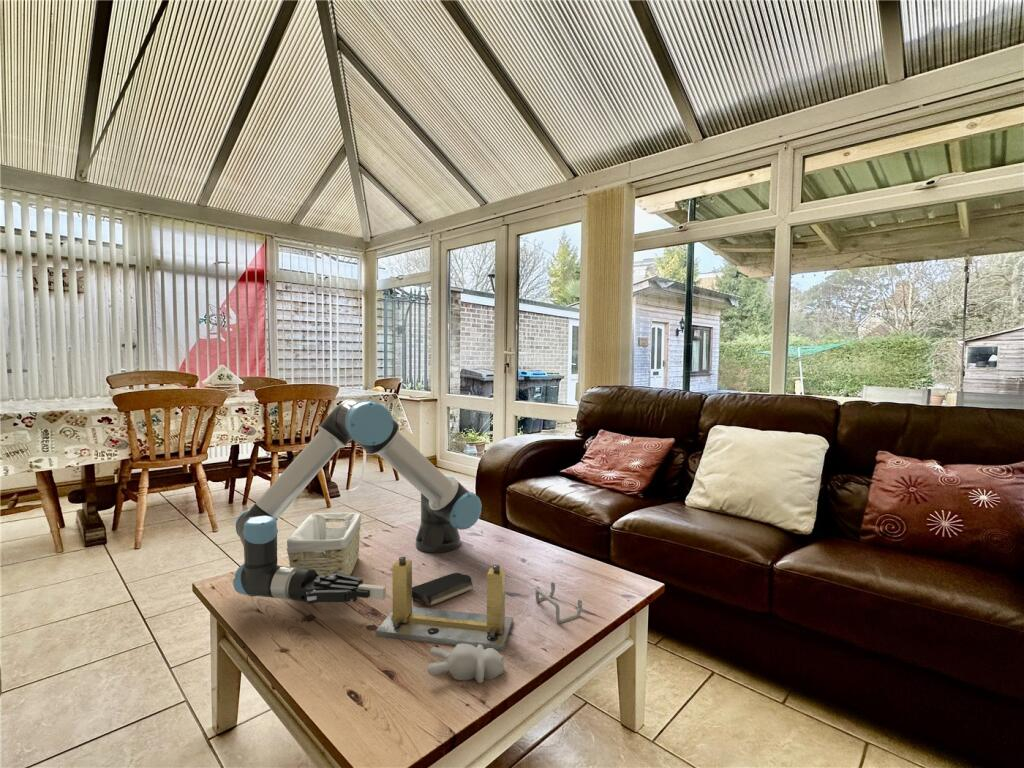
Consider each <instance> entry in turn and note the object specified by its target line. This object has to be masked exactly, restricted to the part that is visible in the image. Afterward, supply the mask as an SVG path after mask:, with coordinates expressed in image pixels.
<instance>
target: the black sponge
mask: <svg viewBox="0 0 1024 768" xmlns="http://www.w3.org/2000/svg"><path fill="white" fill-rule="evenodd" d="M472 579H473V578H472V577H471V576H470V575H468V574H464V573H460V572H452V573H449V574H446V575H443V576H441V577H438V578H435V579H432V580H430V581H427V582H424V583H421V584H418V585H415V586H412V600H416V601H418V602H420V603H421V604H423V605H426V606H433V605H436V604H439V603H441V602H443V601H446V600H448V599H451V598H454V597H455V596H458V595H460V594H464V593H466V592H468V591H470V590H472V588H473V586H474V585H473V580H472Z"/></svg>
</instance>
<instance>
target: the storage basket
mask: <svg viewBox="0 0 1024 768" xmlns="http://www.w3.org/2000/svg"><path fill="white" fill-rule="evenodd" d="M361 515H362V514H361V513H360V512H358V511H356V512H323V513H311V514H309V515H308V517H306V519H305V520H304V521H303V522H302V523H301V524H300V525H299V526H298V527H297V529H296V530H295V531H294V532H293V533H292V534H291V535H290V537H289V538H288V539H287V541H286V551H287V552H286V553H287V556H288V561H289V562H288V563H289V567H297V568H306V569H313V570H315V571H316V573H317V574H318V575H319V576H321V575H327V576H332V575H333V572H335V571H338V572H340V573H341V574H345V575H349V576H351V575H352V573H353V571H354V569H355V566H356V563H358V562H357V561H358V559H359V557H360V553H359V552H360V539H361V536H360V535H361V534H360V531H361V522H362V516H361ZM327 522H328V523H330V522H336V523H337V522H338V523H340V522H345V525H344V526H345V527H330V528H329V527H327Z"/></svg>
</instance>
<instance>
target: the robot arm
mask: <svg viewBox="0 0 1024 768" xmlns="http://www.w3.org/2000/svg"><path fill="white" fill-rule="evenodd" d="M317 427H318V432H317V433H316V434H315V435H314V437H313V438H312V439H311V440H310V441H309V442H308V443H307V444H306V446H304V448H303V449H302V450H301V451H300V452H299V454H298V455H297V456H295V458H294V459H293V460H292V461H291V463H290V464H289V465H288V466H287V467H286V468H285V469H284V471H282V472H281V474H280V475H279V476H278V477H277V478H276V479H275V481H273V483H271V485H270V486H269V487H268V488H267V490H266V491H265V492H264V493H263V494H262V496H260V498H259V499H258V500H257V501H256V502H255V503H254V504H253V506H251V508H250V509H246V510H244V511H242V512H241V513H240V514H239V515H238V516H237V518H236V520H235V532H236V534H237V535H238V537H239V539H240V542H241V544H242V545H243V556H244V559H243V561H244V563H243V564H241V565H240V566H239V567H238V568H237V570H236V571H235V574H234V578H233V580H232V585H233V589H234V591H235V592H236V593H237V594H240V595H245V596H248V597H253V598H254V597H261V598H262V597H263V598H271V599H279V600H280V599H281V600H284V601H290V600H291V601H294V602H296V601H297V602H307V603H306V604H308V605H311V604H316V603H349V602H351V600H352V602H353V603H354V602H357V601H358V600H357V599H358V598H360V599H361V598H362V599H368V600H371V599H372V600H380V601H384V599H386V597H387V594H386V593H387V592H386V591H387V590H386V588H387V587H386V585H380V584H379V585H378V584H368V583H364V578H361V577H358V576H352V575H350V576H349V575H345V574H341V573H340V572H338V571H335V572H333V575H332V576H327V575H321V576H319V575H318V574H317V573H316V571H315V570H313V569H306V568H297V567H290V566H284V565H283V566H282V565H279V564H278V533H279V530H278V523H277V521H278V520H279V519H280V518H281V516H282V515H283V514H284V513H285V512H286V511H287V509H288V508H289V507H290V506H291V504H293V503H294V501H295V500H296V499H297V498H298V497H299V495H300V494H301V493H302V492H303V491H304V490H305V488H306V487H307V486H308V485H309V484H310V483H311V482H312V480H313V479H315V477H316V476H317V474H318V473H319V472H320V471H321V470H322V469H323V467H324V466H325V465H326V464H327V463H328V462H329V460H331V458H332V457H333V456H334V454H336V453H337V451H338V450H339V449H340V448H345V447H346V446H347V445H348V443H350V442H351V441H354V442H355V443H356V444H357V445H358V446H359V447H361V448H362V449H363V450H364V451H365V452H367V454H369V455H378V456H379V457H380V458H381V459H383V460H384V461H385V462H386V463H387V464H388V465H389V466H391V468H393V470H395V471H396V473H398V474H400V475H401V476H402V477H403V479H405V480H406V481H407V482H408V483H409V484H410V485H412V486H413V487H414V489H416V490H417V491H419V493H420V525H419V528H418V531H417V534H416V537H415V547H416V548H417V549H418V550H419V551H422V552H425V553H432V554H433V553H434V554H435V553H445V552H450V551H453V550H455V549H457V548H459V546H460V544H461V535H460V533H459V530H460V531H465V530H467V529H470V528H473V526H474V525H476V523H477V522H478V521H479V519H480V517H481V515H482V506H483V505H482V501H481V499H480V497H479V496H478V495H476V494H475V493H474V492H472V491H471V492H470V491H469V490H468V489H467V488H466V487H464V486H463V484H461V483H460V482H459V481H458V479H456V478H455V477H453V476H445V474H444V473H442V471H441V470H439V468H437V467H436V466H435V465H434V464H433V463H432V462H431V461H430V460H429V459H428V458H427V457H426V456H424V455H423V453H421V451H419V449H417V447H415V446H414V445H413V444H412V443H411V442H410V441H409V440H408V439H407V438H405V436H404V435H402V433H401V432H400V425H399V423H397V422H396V421H395V419H394V418H393V415H392V413H391V412H390V411H389V409H388V408H387V407H385V406H384V405H383V404H382V403H380V402H377V401H375V400H366V399H362V398H358V397H355V398H348V399H346V400H343V401H341V402H340V403H339V404H338V405H336V407H334V408H333V410H332V411H331V412H330V413H329V414H328V415H327V416H326V418H325V419H324V420H323V421H322V422H321V423H320V425H318V426H317Z"/></svg>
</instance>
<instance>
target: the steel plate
mask: <svg viewBox="0 0 1024 768" xmlns="http://www.w3.org/2000/svg"><path fill="white" fill-rule="evenodd" d="M392 614H393V610H391V612H390V613H389V614H388V615H387V617H386V618H385V619H384V620H383V621H382V623H381V624H380V625H379V626H378V628H377V629H376V630H375V637H381V638H391V639H399V640H407V641H414V642H415V641H416V642H425V643H433V644H442V645H447V646H448V645H450V646H456V645H457V644H470V645H473V646H474V647H477V646H478V644H481V645H483V648H484V650H485V649H487V648H493V649H494V650H496V651H500V652H501V651H502V652H504V650H505V647H506V644H507V641H508V638H509V636H510V633H511V629H512V625H513V623H514V617H511V616H505V625H504V627H503V629H502V633H501V634H500V633H496V635H495V637H494V638H490V632H487V630H480V629H471V628H462V627H453V626H444V625H435V624H426V623H417V622H408V621H407V622H406V623H402V622H401V623H400V625H399V626H398V627H393V623H394V622H393V621H392V620H391V615H392ZM412 614H413V615H422V616H431V617H441V618H450V619H459V620H468V621H478V622H487V614H484V613H474V612H463V611H455V610H445V609H438V608H427V607H417V606H412Z"/></svg>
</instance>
